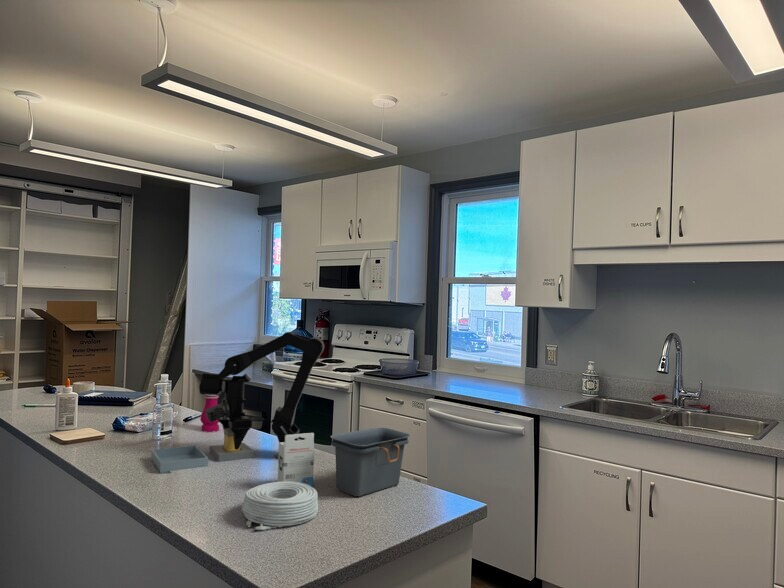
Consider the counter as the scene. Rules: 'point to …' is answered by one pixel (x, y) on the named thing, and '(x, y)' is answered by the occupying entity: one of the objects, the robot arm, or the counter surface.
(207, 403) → the pepper mill
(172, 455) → the parts tray
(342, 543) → the counter surface
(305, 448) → the ink box
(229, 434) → the block
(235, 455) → the grey square socket tray
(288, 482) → the cable
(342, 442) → the storage bin
